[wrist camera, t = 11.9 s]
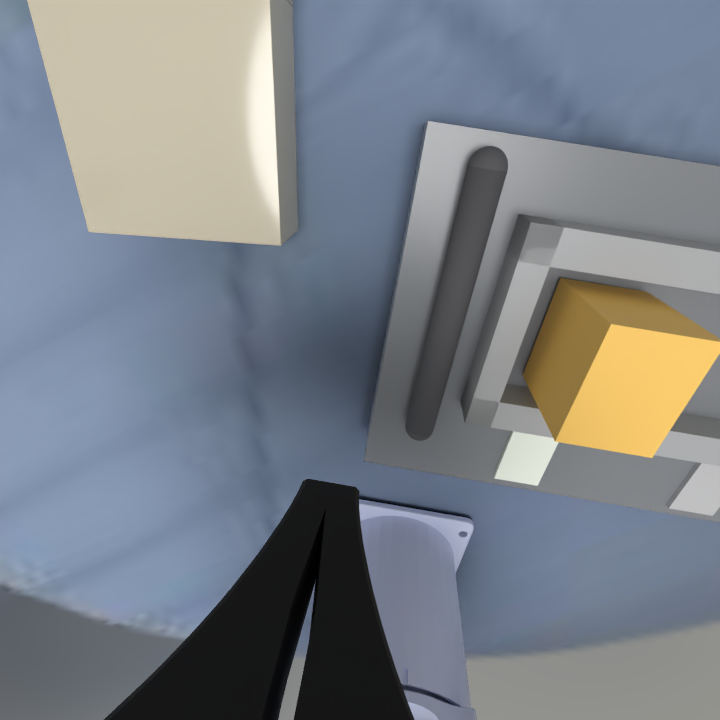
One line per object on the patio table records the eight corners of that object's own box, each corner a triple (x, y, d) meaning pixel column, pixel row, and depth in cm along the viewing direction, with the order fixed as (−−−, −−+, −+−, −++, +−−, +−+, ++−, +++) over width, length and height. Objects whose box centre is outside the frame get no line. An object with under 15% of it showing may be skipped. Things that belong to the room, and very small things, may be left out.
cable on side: (429, 431, 18) (431, 449, 17) (402, 426, 18) (402, 444, 17) (508, 148, 13) (518, 150, 12) (470, 142, 13) (475, 143, 12)
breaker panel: (789, 499, 21) (865, 572, 18) (368, 428, 22) (361, 484, 18) (1048, 220, 14) (1256, 248, 11) (424, 123, 15) (430, 119, 11)
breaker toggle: (598, 388, 16) (652, 458, 13) (522, 375, 16) (554, 441, 13) (646, 291, 14) (726, 343, 11) (560, 277, 14) (611, 323, 11)
